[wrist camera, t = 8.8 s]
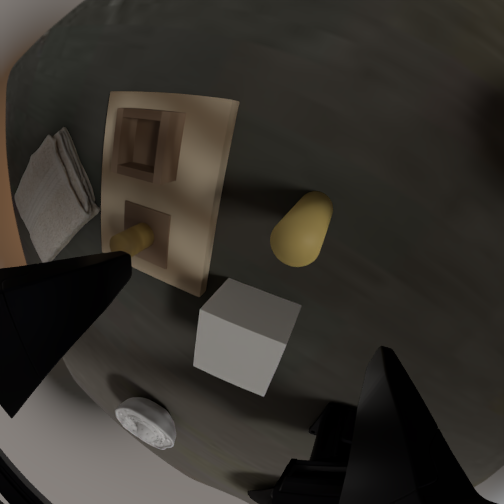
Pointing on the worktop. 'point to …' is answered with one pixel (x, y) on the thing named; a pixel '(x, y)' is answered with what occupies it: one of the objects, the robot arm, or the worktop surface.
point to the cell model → (147, 422)
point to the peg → (302, 230)
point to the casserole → (261, 496)
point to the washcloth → (55, 195)
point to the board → (165, 181)
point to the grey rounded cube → (243, 335)
